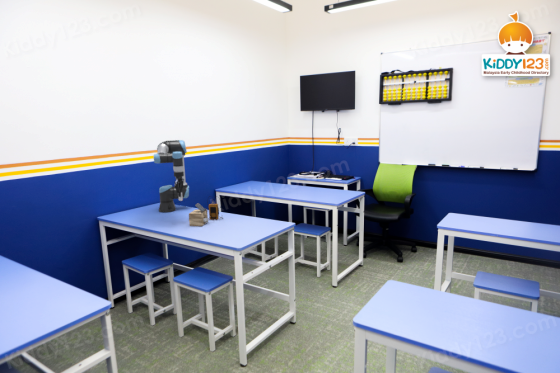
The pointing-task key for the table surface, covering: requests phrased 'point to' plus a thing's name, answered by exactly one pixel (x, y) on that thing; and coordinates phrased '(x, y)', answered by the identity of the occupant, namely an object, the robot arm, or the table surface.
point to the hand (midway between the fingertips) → (180, 200)
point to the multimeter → (213, 210)
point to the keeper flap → (200, 207)
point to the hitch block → (197, 217)
